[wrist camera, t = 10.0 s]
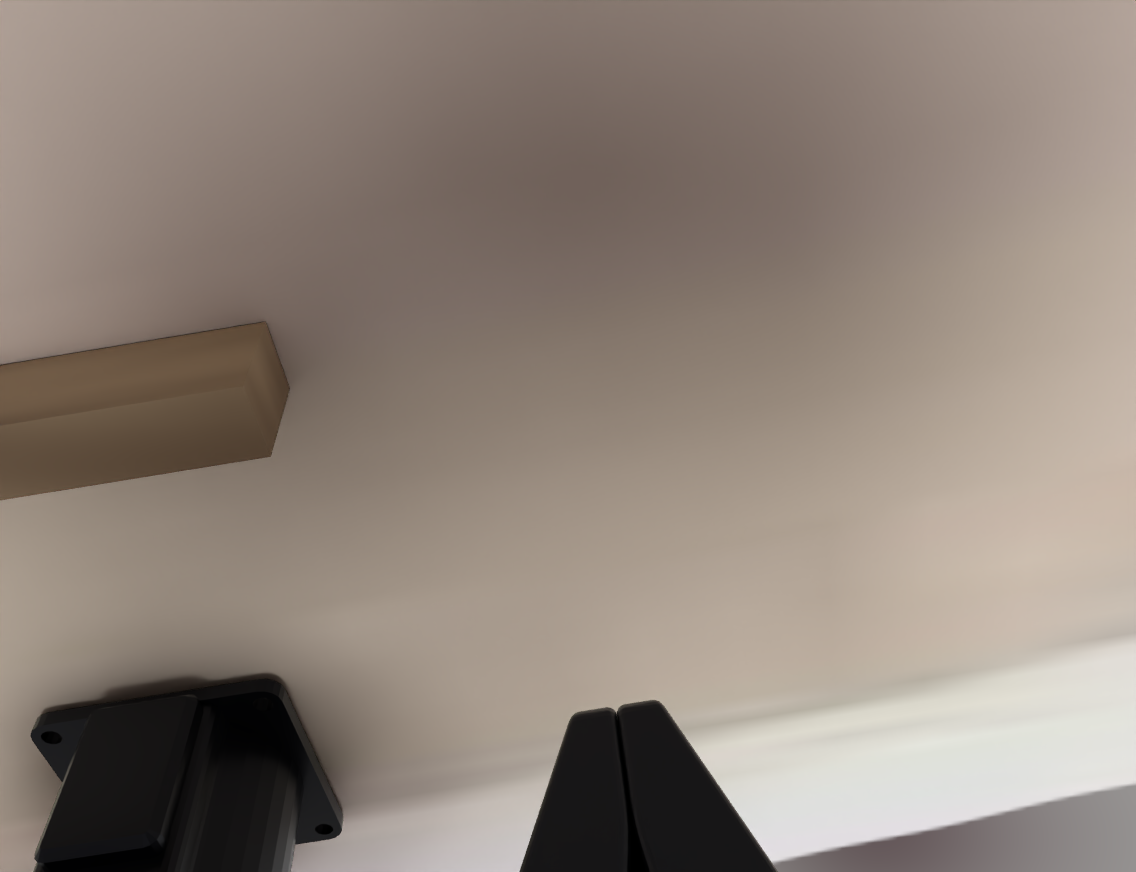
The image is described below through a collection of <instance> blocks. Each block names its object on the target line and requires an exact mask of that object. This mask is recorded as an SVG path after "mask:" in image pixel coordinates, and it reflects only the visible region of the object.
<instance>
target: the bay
mask: <svg viewBox="0 0 1136 872" xmlns="http://www.w3.org/2000/svg"><path fill="white" fill-rule="evenodd" d="M289 389H290V388H289V385H288V382H287V380H286V377H285V374H284V371H283V369H282V366H281V363H280V360H279V358H278V355H277V352H276V349H275V347H274V344H273V341H272V338H271V335H270V333H269V330H268V327H267V324H266V322H262V323H255V324H249V325H243V326H237V327H231V328H225V329H219V330H213V331H207V332H201V333H195V334H189V335H182V336H176V337H170V338H164V339H158V340H152V341H146V342H140V343H134V344H128V345H122V346H115V347H109V348H103V349H97V350H91V351H85V352H79V353H73V354H67V355H61V356H55V357H49V358H42V359H36V360H30V361H24V362H18V363H12V364H6V365H0V500H5V499H11V498H17V497H24V496H30V495H36V494H42V493H48V492H55V491H61V490H67V489H73V488H79V487H85V486H92V485H98V484H104V483H110V482H116V481H123V480H129V479H135V478H141V477H147V476H153V475H160V474H166V473H172V472H178V471H184V470H191V469H197V468H203V467H209V466H215V465H221V464H228V463H234V462H240V461H246V460H252V459H259V458H265V457H271V454H272V450H273V447H274V443H275V440H276V436H277V432H278V429H279V425H280V422H281V418H282V414H283V411H284V407H285V404H286V400H287V397H288V393H289Z"/></svg>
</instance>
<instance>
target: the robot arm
mask: <svg viewBox="0 0 1136 872" xmlns="http://www.w3.org/2000/svg"><path fill="white" fill-rule="evenodd" d="M263 698H267V699H263ZM31 738H32V741H33V742H34V744H35V745H36V746H37V748H38V749H39V751H40V752H41V753H42V755H43V756H44V757H45V759H46V760H47V762H48V763H49V764H50V766H51V767H52V769H53V770H54V771H55V773H56V774H57V776H58V777H59V778H60V780H61V781H62V785H61V788H60V790H59V793H58V795H57V798H56V800H55V803H54V805H53V808H52V811H51V813H50V816H49V818H48V821H47V823H46V826H45V828H44V831H43V834H42V836H41V839H40V841H39V844H38V846H37V849H36V851H35V857H34V859H35V860H36V861H37V864H36V866H35V869H34V871H33V872H291V867H292V860H293V854H294V848H295V844H302V843H308V842H315V841H321V840H328V839H332V838H335V837H337V836H338V835H340V833H341V831H342V824H343V814H342V812H341V809H340V807H339V805H338V803H337V801H336V799H335V796H334V794H333V792H332V790H331V788H330V786H329V784H328V781H327V779H326V777H325V775H324V773H323V771H322V768H321V766H320V764H319V762H318V760H317V758H316V755H315V753H314V751H313V749H312V747H311V745H310V742H309V740H308V738H307V736H306V734H305V732H304V729H303V727H302V725H301V723H300V721H299V719H298V716H297V714H296V712H295V710H294V708H293V706H292V703H291V701H290V699H289V697H288V695H287V693H286V691H285V689H284V687H283V686H282V685H281V684H279V683H278V682H276V681H273V680H269V679H259V680H252V681H246V682H239V683H233V684H227V685H220V686H214V687H208V688H201V689H195V690H189V691H182V692H176V693H170V694H163V695H157V696H151V697H144V698H138V699H132V700H125V701H119V702H112V703H106V704H100V705H93V706H87V707H81V708H74V709H68V710H62V711H55V712H49V713H46V714H42V715H41V716H40V717H38V718H37V721H36V723H35V725H34V727H33V730H32V732H31ZM520 872H778V871H777V870H776V868H775V867H774V865H773V864H772V862H771V861H770V859H769V858H768V856H767V855H766V854H765V852H764V851H763V849H762V848H761V846H760V845H759V843H758V842H757V840H756V839H755V838H754V836H753V835H752V833H751V832H750V830H749V829H748V827H747V826H746V825H745V823H744V822H743V820H742V819H741V817H740V816H739V814H738V813H737V811H736V810H735V809H734V807H733V806H732V804H731V803H730V801H729V800H728V798H727V797H726V795H725V794H724V793H723V791H722V790H721V788H720V787H719V785H718V784H717V782H716V781H715V779H714V778H713V777H712V775H711V774H710V772H709V771H708V769H707V768H706V766H705V765H704V763H703V762H702V761H701V759H700V758H699V756H698V755H697V753H696V752H695V750H694V749H693V747H692V746H691V745H690V743H689V742H688V740H687V739H686V737H685V736H684V734H683V733H682V731H681V730H680V729H679V727H678V726H677V724H676V723H675V721H674V720H673V718H672V717H671V715H670V714H669V713H668V711H667V710H666V708H665V707H664V706H663V705H662V704H661V703H660V702H659V701H656V700H649V701H643V702H637V703H631V704H624V705H622V706H621V707H620V708H618V711H617V714H616V712H615V710H614V709H612V708H608V707H606V708H600V709H594V710H587V711H581V712H577V713H575V714H574V715H573V716H572V717H571V719H570V721H569V723H568V726H567V729H566V732H565V735H564V738H563V741H562V744H561V747H560V750H559V753H558V756H557V759H556V762H555V765H554V769H553V772H552V775H551V778H550V781H549V784H548V787H547V790H546V793H545V796H544V799H543V802H542V805H541V808H540V811H539V814H538V817H537V820H536V823H535V826H534V829H533V832H532V835H531V838H530V841H529V845H528V848H527V851H526V854H525V857H524V860H523V863H522V866H521V869H520Z"/></svg>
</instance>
